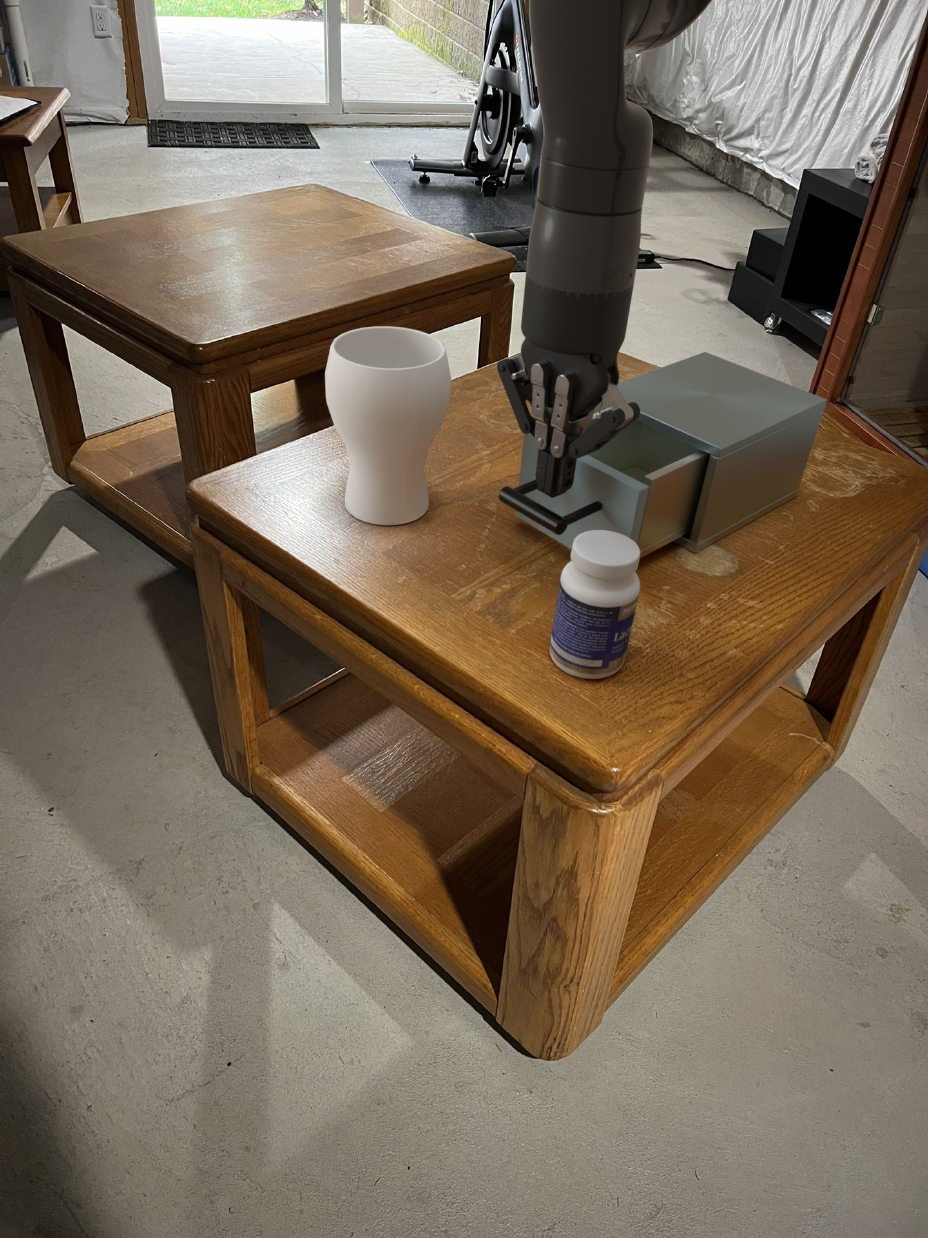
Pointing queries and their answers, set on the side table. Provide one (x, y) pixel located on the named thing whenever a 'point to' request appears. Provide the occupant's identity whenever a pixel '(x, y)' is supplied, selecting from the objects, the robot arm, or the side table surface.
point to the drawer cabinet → (731, 436)
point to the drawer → (618, 489)
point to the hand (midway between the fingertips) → (552, 491)
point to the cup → (387, 417)
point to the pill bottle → (596, 605)
